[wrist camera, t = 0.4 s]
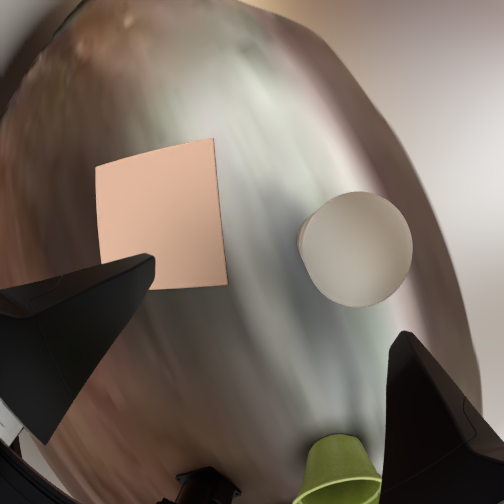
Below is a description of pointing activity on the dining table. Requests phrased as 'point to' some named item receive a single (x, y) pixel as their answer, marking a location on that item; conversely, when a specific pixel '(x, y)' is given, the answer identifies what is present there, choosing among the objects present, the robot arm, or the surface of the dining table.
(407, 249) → the white cylinder
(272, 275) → the dining table surface
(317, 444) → the plant pot
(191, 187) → the placemat
